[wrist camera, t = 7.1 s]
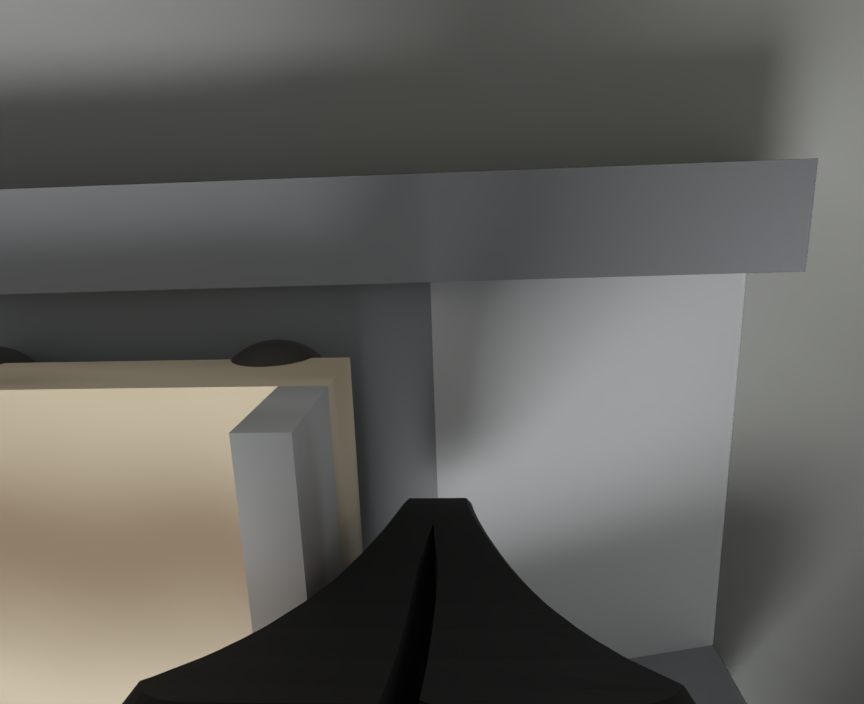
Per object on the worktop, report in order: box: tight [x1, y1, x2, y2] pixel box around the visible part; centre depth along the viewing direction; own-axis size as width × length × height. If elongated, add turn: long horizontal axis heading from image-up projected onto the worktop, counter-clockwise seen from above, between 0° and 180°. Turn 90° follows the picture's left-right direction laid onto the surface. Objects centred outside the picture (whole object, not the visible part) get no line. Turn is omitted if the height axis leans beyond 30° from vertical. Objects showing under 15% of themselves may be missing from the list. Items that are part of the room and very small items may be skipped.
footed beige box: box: [0, 339, 363, 704], centre depth 11 cm, size 8×9×5 cm
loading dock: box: [0, 158, 818, 704], centre depth 13 cm, size 14×20×6 cm
